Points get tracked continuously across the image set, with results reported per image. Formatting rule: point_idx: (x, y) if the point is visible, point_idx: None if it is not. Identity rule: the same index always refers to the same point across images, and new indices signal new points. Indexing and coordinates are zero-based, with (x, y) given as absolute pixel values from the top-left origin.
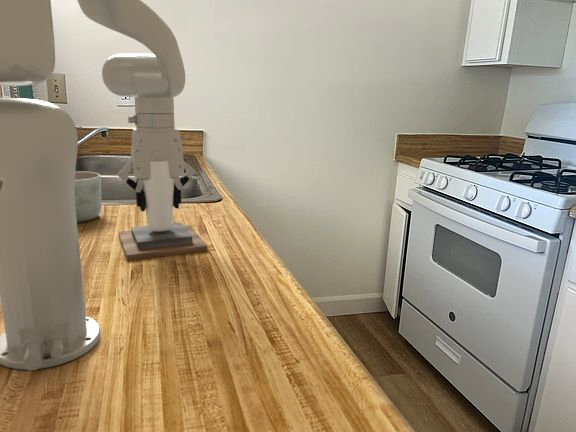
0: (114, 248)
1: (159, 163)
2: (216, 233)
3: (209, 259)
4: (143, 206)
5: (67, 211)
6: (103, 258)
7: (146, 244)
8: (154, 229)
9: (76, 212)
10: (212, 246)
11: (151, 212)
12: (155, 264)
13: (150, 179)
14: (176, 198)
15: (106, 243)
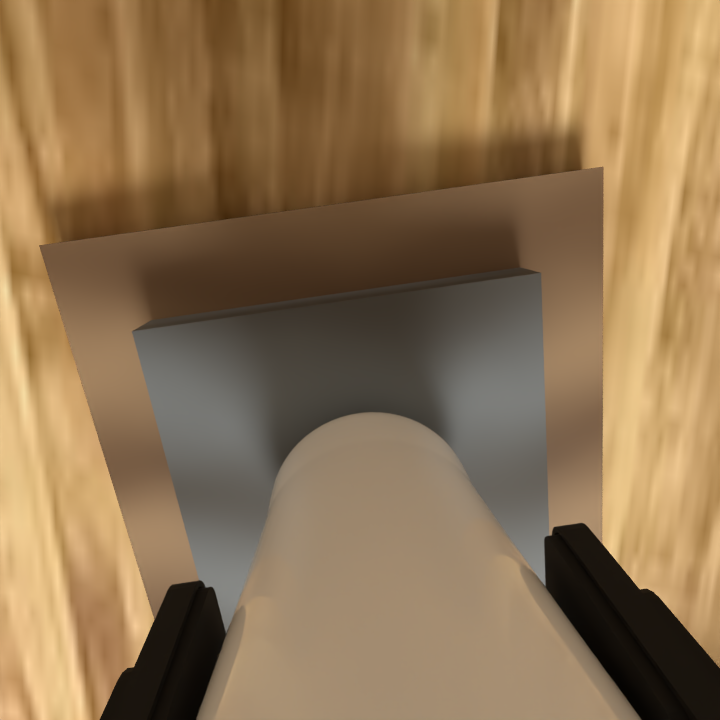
0: (627, 414)
1: None
2: (11, 574)
3: (42, 61)
4: (585, 556)
5: None
6: (706, 252)
7: (474, 277)
8: (420, 424)
9: None
10: (29, 333)
11: (476, 501)
12: (416, 53)
13: None
14: (156, 682)
15: (659, 504)
